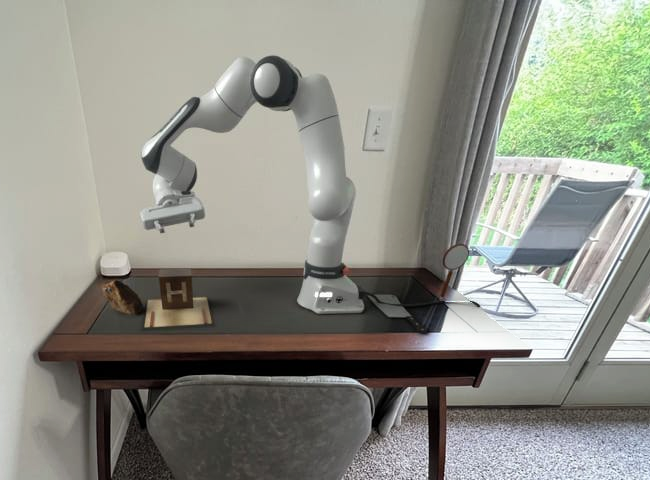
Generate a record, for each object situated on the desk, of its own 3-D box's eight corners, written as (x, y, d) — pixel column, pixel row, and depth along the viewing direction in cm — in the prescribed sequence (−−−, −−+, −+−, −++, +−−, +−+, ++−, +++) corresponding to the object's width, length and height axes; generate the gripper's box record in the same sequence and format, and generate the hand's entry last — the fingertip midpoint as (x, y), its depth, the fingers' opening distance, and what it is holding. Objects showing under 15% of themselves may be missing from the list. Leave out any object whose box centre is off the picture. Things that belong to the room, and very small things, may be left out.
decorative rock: (104, 311, 114) (98, 279, 108) (117, 304, 119) (111, 273, 113) (135, 318, 110) (129, 285, 104) (146, 311, 115) (142, 279, 109)
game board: (206, 299, 124) (206, 296, 123) (212, 325, 107) (212, 322, 106) (148, 302, 121) (147, 298, 120) (144, 329, 104) (144, 326, 104)
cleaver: (397, 333, 104) (430, 333, 104) (397, 332, 104) (431, 332, 104) (366, 295, 129) (393, 295, 129) (366, 294, 128) (394, 294, 129)
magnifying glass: (430, 302, 124) (449, 244, 113) (427, 300, 126) (446, 243, 115) (453, 301, 125) (474, 244, 114) (450, 299, 127) (471, 243, 116)
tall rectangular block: (192, 299, 121) (190, 268, 115) (193, 308, 115) (191, 276, 109) (162, 301, 120) (159, 269, 114) (162, 310, 114) (158, 277, 108)
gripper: (136, 201, 114) (141, 225, 106) (198, 190, 116) (207, 212, 108) (141, 219, 119) (146, 243, 111) (200, 208, 121) (209, 230, 114)
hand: (177, 228), depth 110 cm, fingers open, 8 cm apart
